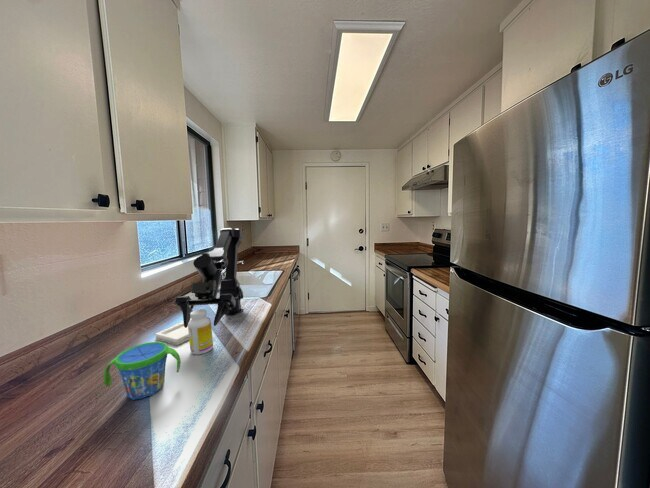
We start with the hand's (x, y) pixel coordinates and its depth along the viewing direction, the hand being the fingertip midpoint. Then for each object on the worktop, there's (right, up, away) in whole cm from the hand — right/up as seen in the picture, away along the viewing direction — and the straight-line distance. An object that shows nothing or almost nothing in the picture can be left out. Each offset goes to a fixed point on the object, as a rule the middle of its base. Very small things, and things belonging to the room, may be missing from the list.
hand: (200, 326), depth 80 cm
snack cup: (-4, -10, -18) cm, 21 cm away
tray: (-13, -7, +13) cm, 19 cm away
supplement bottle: (0, -8, +1) cm, 8 cm away
